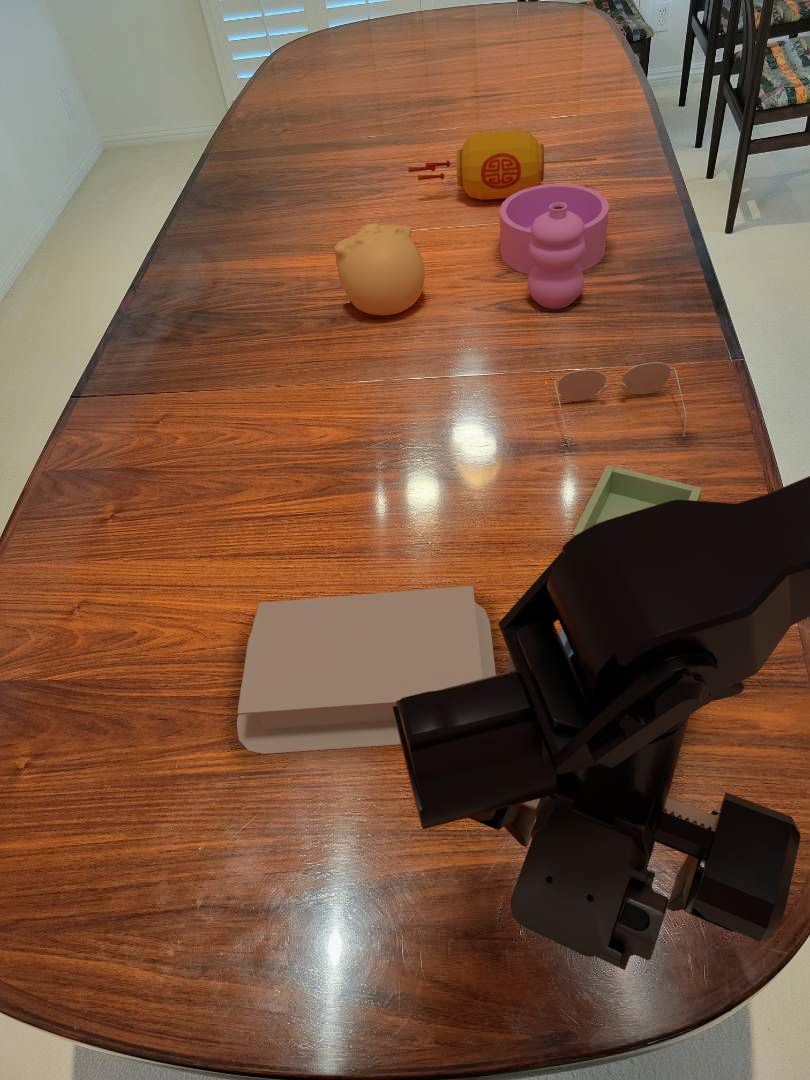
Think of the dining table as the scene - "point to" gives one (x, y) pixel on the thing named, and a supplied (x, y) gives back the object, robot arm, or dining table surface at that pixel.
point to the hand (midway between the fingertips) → (597, 869)
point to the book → (355, 665)
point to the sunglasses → (634, 381)
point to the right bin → (630, 495)
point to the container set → (554, 238)
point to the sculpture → (381, 269)
